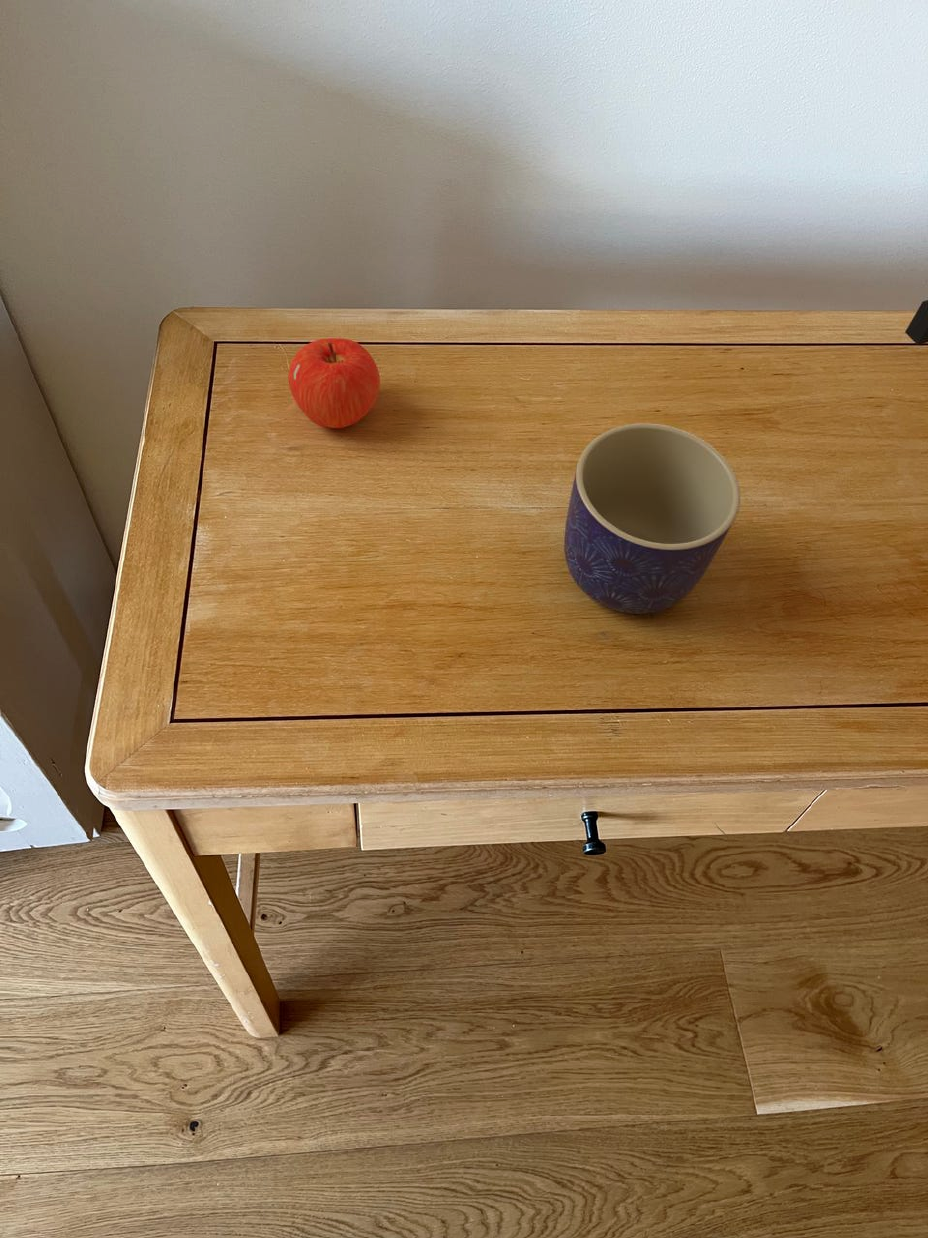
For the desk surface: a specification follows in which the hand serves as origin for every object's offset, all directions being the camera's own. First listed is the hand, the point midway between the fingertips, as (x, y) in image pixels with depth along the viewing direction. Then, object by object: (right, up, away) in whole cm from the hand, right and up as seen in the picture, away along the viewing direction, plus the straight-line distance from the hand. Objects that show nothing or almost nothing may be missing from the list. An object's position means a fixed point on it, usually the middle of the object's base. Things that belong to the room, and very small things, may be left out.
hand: (920, 323), depth 66 cm
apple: (-44, -2, +20) cm, 49 cm away
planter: (-19, -17, +12) cm, 28 cm away
